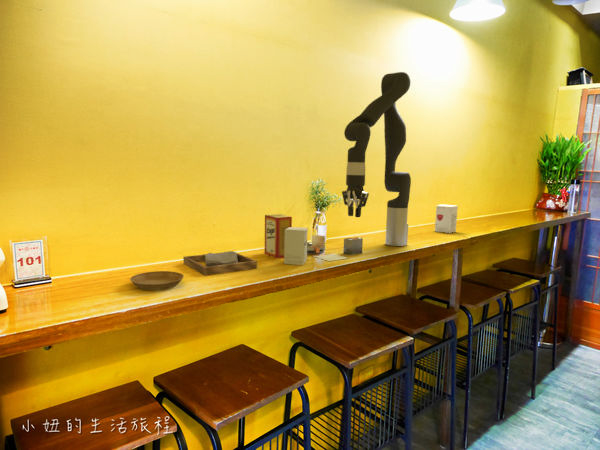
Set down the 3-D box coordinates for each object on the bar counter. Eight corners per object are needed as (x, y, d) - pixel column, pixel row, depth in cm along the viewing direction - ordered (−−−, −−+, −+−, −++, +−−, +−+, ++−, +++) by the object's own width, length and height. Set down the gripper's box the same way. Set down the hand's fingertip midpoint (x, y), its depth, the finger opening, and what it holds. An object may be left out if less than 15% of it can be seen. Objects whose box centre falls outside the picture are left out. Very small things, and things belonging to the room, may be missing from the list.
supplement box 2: (434, 231, 235) (435, 205, 232) (440, 230, 241) (442, 204, 239) (450, 233, 229) (452, 206, 227) (456, 231, 236) (458, 205, 233)
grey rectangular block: (357, 251, 177) (358, 236, 176) (364, 252, 174) (364, 238, 173) (341, 253, 172) (341, 238, 171) (347, 255, 168) (348, 240, 168)
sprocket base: (311, 247, 183) (311, 245, 183) (330, 252, 173) (330, 251, 173) (286, 250, 176) (286, 248, 176) (304, 255, 165) (304, 254, 165)
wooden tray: (232, 257, 159) (232, 251, 159) (256, 268, 144) (257, 261, 144) (183, 263, 148) (183, 256, 148) (204, 275, 133) (204, 268, 133)
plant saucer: (155, 276, 132) (155, 268, 131) (194, 282, 126) (193, 274, 126) (118, 289, 118) (118, 280, 118) (160, 296, 113) (160, 286, 112)
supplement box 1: (303, 265, 150) (304, 230, 148) (283, 264, 151) (283, 229, 149) (307, 260, 157) (308, 227, 155) (288, 259, 158) (288, 226, 156)
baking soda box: (291, 256, 164) (291, 215, 161) (276, 258, 160) (277, 216, 158) (278, 252, 171) (279, 213, 169) (264, 253, 168) (264, 214, 166)
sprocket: (332, 249, 176) (332, 234, 175) (315, 254, 164) (315, 238, 164) (303, 245, 184) (303, 230, 183) (285, 250, 172) (285, 234, 171)
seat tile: (332, 253, 170) (332, 253, 170) (348, 258, 162) (348, 257, 162) (312, 256, 164) (312, 255, 164) (328, 261, 156) (328, 260, 156)
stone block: (239, 271, 146) (237, 260, 156) (239, 259, 145) (236, 248, 154) (205, 274, 144) (204, 262, 153) (204, 261, 142) (203, 250, 151)
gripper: (375, 174, 165) (373, 218, 167) (350, 173, 176) (349, 214, 178) (361, 174, 160) (359, 219, 163) (337, 173, 172) (335, 215, 174)
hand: (354, 216), depth 171 cm, fingers open, 3 cm apart
